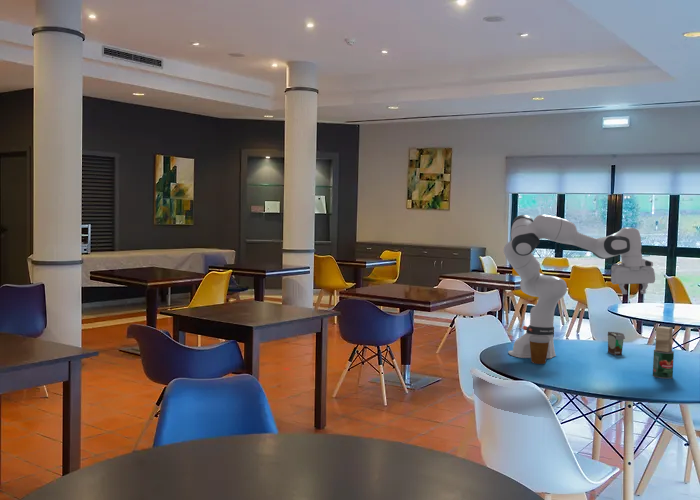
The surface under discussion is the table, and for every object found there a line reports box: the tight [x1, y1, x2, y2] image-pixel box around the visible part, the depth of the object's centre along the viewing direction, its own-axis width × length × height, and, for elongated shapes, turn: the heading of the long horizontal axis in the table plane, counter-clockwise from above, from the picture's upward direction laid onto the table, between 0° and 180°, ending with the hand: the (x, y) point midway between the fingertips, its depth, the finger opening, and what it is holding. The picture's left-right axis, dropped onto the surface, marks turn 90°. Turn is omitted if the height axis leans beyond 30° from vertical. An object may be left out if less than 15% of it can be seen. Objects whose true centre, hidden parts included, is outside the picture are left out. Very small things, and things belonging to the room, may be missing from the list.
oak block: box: [654, 325, 674, 352], centre depth 295 cm, size 5×5×10 cm
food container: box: [607, 331, 626, 356], centre depth 345 cm, size 12×6×10 cm, turn 179°
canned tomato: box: [652, 349, 675, 380], centre depth 295 cm, size 8×8×11 cm
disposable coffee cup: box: [529, 335, 550, 365], centre depth 318 cm, size 10×10×12 cm
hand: (633, 293), depth 311 cm, fingers open, 8 cm apart
